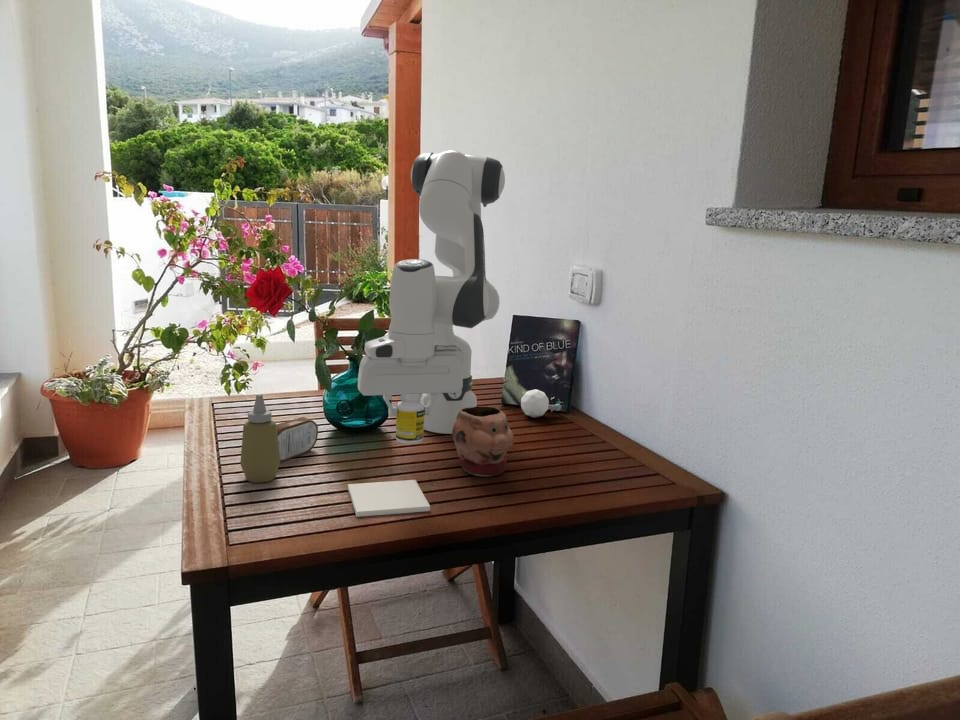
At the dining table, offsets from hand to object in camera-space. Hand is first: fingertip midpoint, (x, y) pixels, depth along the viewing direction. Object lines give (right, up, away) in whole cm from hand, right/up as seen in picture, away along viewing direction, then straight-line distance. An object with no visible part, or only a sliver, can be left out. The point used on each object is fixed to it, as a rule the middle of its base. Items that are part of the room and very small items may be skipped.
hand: (410, 415), depth 140 cm
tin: (-29, -12, +25) cm, 40 cm away
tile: (-5, -17, +2) cm, 18 cm away
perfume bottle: (+31, -6, +66) cm, 74 cm away
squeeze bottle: (-32, -14, +10) cm, 37 cm away
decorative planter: (+13, -14, +22) cm, 29 cm away
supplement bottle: (0, -5, +1) cm, 5 cm away
